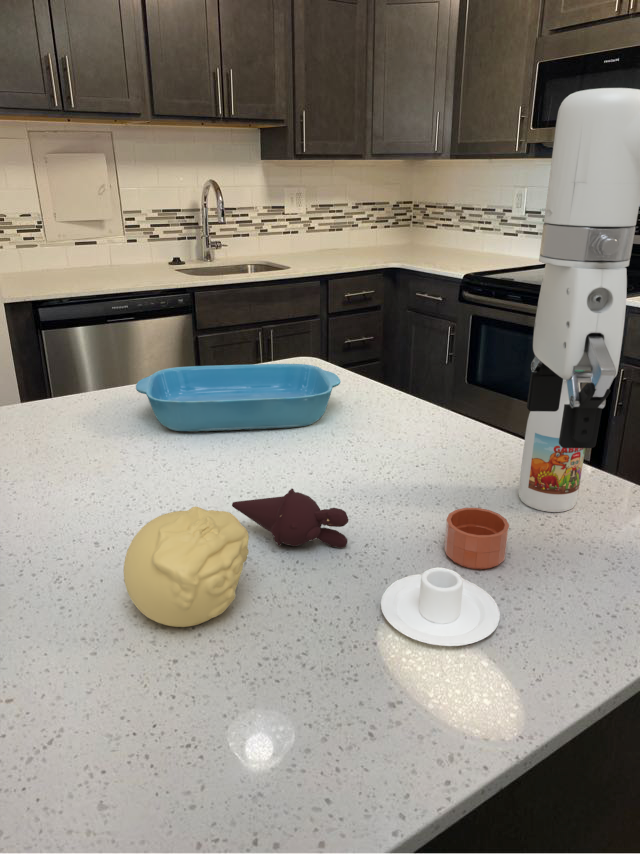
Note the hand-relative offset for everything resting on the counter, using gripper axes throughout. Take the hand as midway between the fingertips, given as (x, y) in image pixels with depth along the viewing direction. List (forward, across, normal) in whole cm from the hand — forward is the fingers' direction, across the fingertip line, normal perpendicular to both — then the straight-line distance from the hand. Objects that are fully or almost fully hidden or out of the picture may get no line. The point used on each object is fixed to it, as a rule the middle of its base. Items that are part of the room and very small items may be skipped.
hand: (558, 427), depth 65 cm
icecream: (+20, +11, +27) cm, 35 cm away
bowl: (+19, +8, +5) cm, 21 cm away
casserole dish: (+20, +56, +37) cm, 70 cm away
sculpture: (+20, -2, +37) cm, 42 cm away
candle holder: (+20, -3, +11) cm, 23 cm away
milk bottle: (+19, +22, -8) cm, 30 cm away
